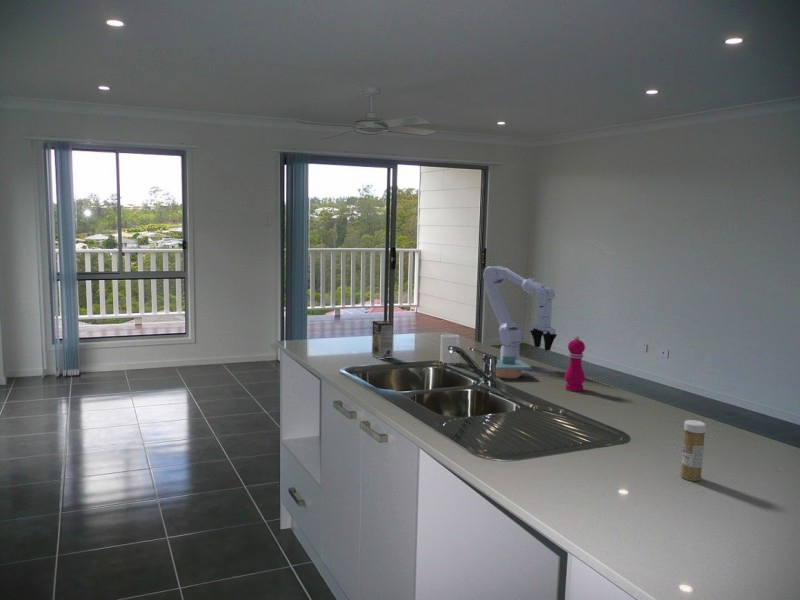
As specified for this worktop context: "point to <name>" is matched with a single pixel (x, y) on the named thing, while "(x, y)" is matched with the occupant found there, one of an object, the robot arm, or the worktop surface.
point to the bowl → (508, 373)
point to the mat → (538, 372)
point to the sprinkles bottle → (693, 450)
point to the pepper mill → (575, 366)
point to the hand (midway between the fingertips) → (542, 348)
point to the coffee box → (382, 339)
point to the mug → (444, 353)
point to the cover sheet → (511, 363)
